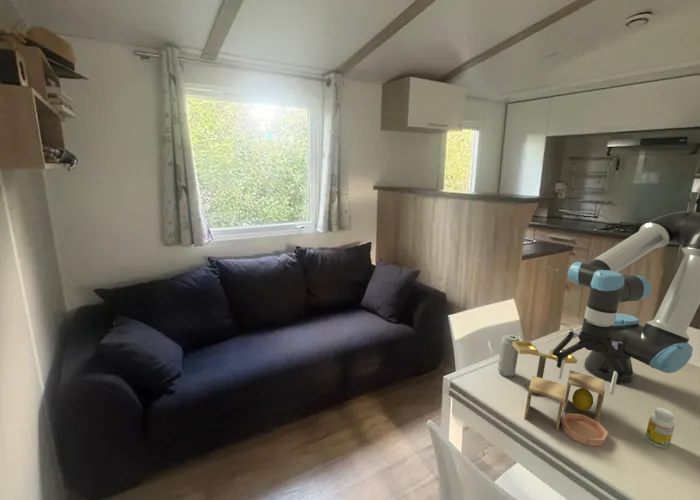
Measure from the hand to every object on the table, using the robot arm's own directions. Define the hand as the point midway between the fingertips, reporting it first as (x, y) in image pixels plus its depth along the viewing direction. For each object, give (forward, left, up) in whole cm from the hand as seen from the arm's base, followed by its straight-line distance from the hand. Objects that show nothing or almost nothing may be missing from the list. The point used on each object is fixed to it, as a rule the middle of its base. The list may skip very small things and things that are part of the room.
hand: (584, 384), depth 113 cm
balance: (+9, -10, -10) cm, 16 cm away
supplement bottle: (-15, +12, -10) cm, 22 cm away
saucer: (+5, +10, -10) cm, 15 cm away
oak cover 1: (+14, +4, -10) cm, 17 cm away
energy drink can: (+16, -20, -10) cm, 27 cm away
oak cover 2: (0, 0, -10) cm, 10 cm away
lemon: (0, 0, -10) cm, 10 cm away
